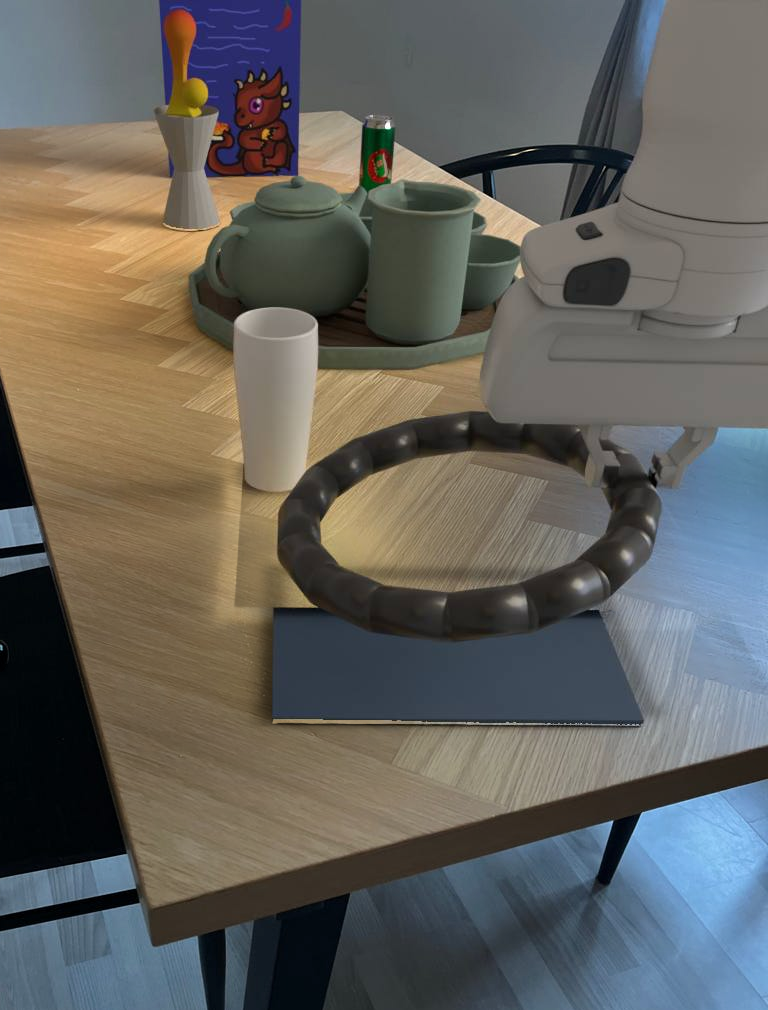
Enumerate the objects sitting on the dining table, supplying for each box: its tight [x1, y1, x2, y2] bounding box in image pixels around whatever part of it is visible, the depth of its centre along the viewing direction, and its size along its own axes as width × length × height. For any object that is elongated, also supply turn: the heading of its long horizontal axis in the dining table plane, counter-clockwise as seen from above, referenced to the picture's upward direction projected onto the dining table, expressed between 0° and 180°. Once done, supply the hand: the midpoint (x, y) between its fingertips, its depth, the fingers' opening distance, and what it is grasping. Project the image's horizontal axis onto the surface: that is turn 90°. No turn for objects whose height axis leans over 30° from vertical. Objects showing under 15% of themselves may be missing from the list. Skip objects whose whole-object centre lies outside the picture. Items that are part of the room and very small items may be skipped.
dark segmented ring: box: [276, 410, 663, 643], centre depth 62 cm, size 24×24×3 cm
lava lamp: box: [153, 9, 221, 229], centre depth 134 cm, size 9×9×35 cm
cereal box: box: [158, 0, 302, 179], centre depth 158 cm, size 22×6×30 cm, turn 96°
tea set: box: [187, 175, 521, 371], centre depth 113 cm, size 40×40×16 cm
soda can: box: [358, 114, 396, 193], centre depth 151 cm, size 5×5×12 cm
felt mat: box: [271, 606, 645, 725], centre depth 69 cm, size 24×15×1 cm, turn 90°
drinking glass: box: [232, 307, 319, 493], centre depth 81 cm, size 7×7×15 cm
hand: (629, 484), depth 61 cm, fingers closed on dark segmented ring, 2 cm apart
